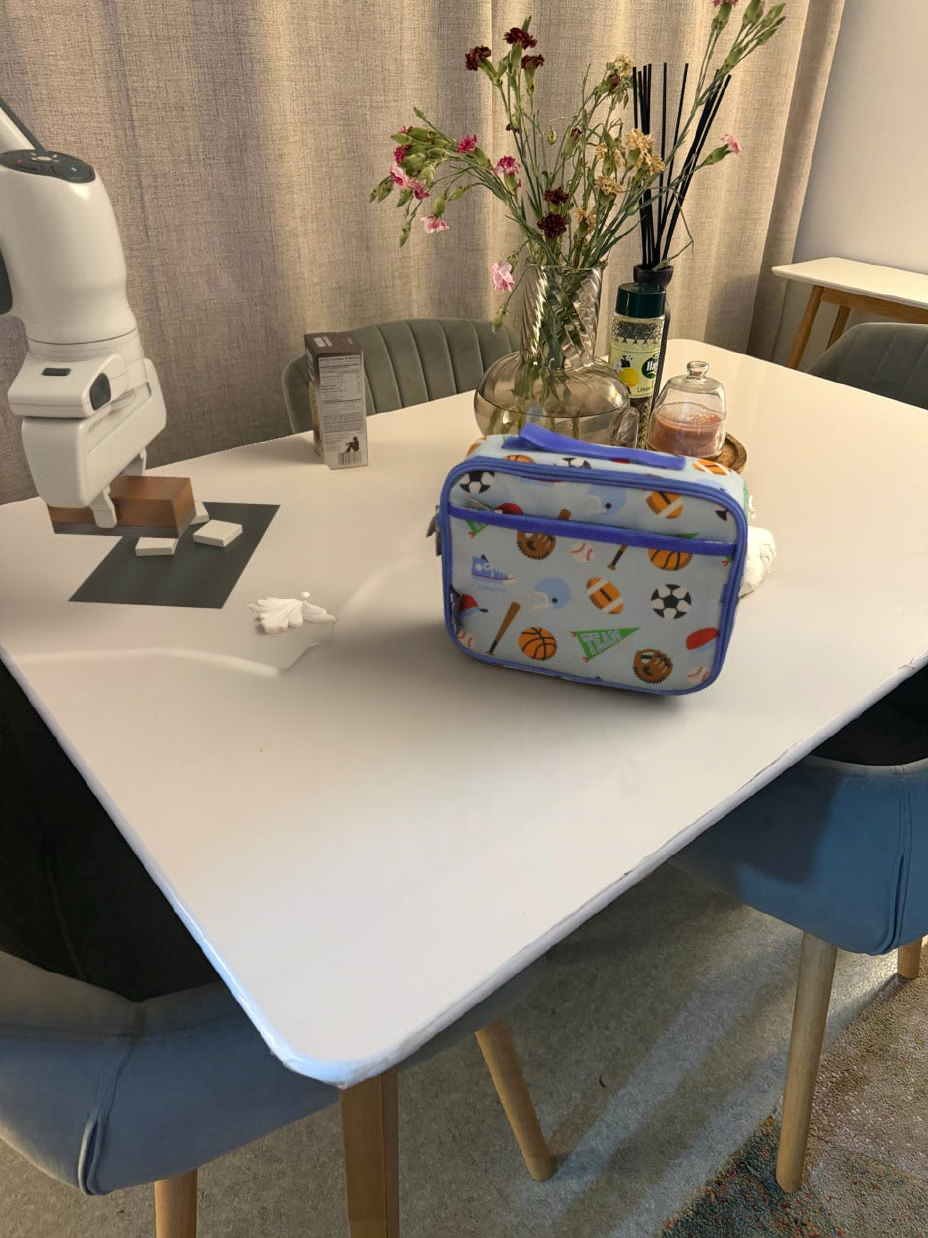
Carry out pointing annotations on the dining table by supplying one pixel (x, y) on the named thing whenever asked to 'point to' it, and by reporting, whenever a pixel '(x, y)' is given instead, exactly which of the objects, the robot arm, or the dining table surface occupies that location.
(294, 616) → the acanthus leaf ornament
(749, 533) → the bust
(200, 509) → the chalk piece
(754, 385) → the dining table surface
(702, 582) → the lunch box
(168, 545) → the chalk piece
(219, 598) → the slate board
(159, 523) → the eraser
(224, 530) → the white square tile
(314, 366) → the coffee box
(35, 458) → the robot arm
